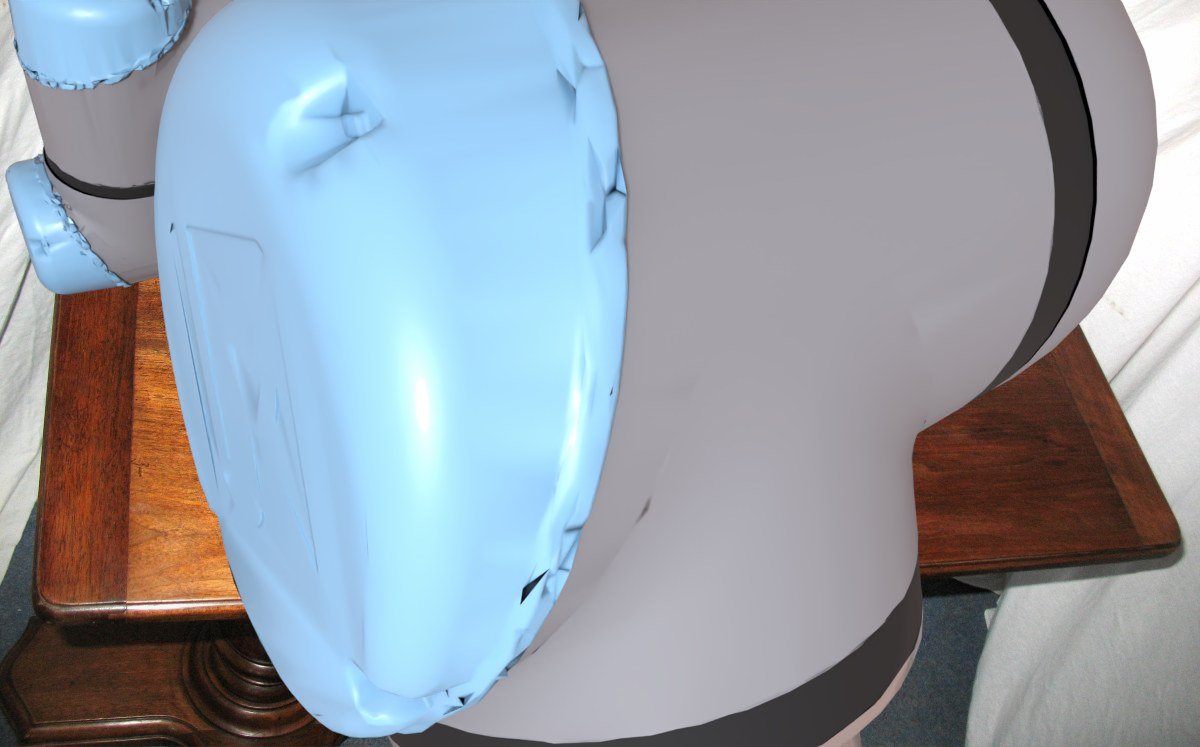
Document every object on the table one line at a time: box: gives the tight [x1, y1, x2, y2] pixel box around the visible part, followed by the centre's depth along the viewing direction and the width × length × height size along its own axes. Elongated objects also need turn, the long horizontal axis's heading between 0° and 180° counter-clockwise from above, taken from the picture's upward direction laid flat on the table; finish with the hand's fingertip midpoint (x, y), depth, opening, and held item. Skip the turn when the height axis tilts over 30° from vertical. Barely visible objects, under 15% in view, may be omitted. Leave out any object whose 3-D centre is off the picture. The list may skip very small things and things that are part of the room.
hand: (594, 126), depth 70 cm, fingers open, 13 cm apart
